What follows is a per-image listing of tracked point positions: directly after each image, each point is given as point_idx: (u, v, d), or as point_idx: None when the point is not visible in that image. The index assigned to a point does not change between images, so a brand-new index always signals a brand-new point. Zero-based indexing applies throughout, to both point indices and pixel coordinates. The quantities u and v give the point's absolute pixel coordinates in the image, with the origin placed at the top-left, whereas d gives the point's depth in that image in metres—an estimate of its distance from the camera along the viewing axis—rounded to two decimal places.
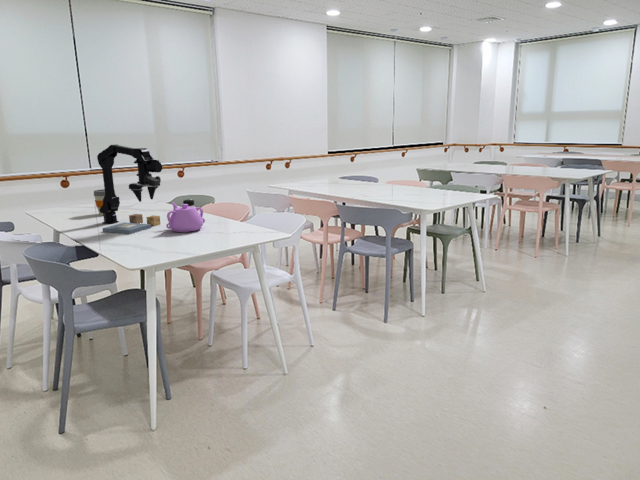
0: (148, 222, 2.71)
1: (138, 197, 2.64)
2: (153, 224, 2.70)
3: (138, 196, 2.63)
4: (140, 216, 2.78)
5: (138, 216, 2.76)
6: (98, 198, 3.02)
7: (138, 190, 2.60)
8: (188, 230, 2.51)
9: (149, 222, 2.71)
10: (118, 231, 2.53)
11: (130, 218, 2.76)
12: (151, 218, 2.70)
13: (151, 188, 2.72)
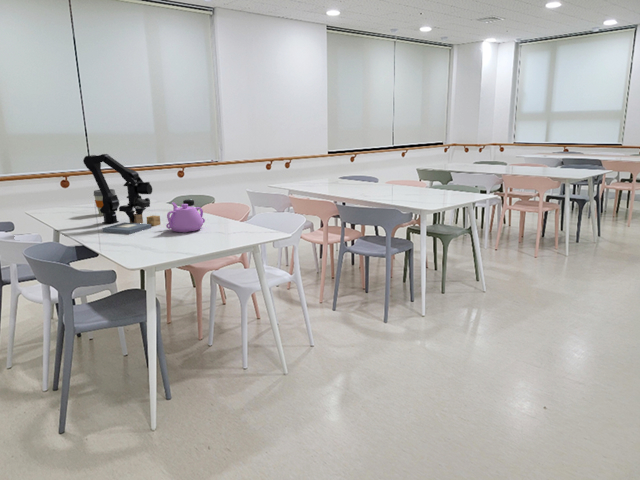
0: (148, 222, 2.71)
1: (131, 218, 2.75)
2: (153, 224, 2.70)
3: (131, 217, 2.74)
4: (140, 216, 2.78)
5: (138, 216, 2.76)
6: (98, 198, 3.02)
7: (131, 211, 2.71)
8: (188, 230, 2.51)
9: (149, 222, 2.71)
10: (118, 231, 2.53)
11: None
12: (151, 218, 2.70)
13: (139, 210, 2.80)
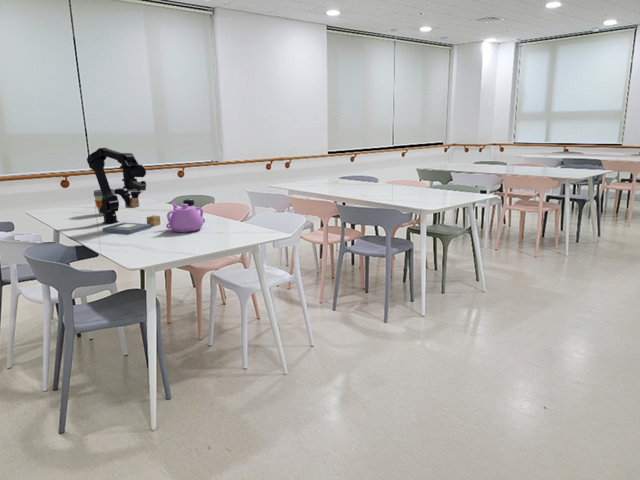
0: (148, 222, 2.71)
1: (126, 201, 2.67)
2: (153, 224, 2.70)
3: (126, 200, 2.66)
4: (136, 199, 2.70)
5: (134, 199, 2.68)
6: (98, 198, 3.02)
7: (126, 194, 2.63)
8: (188, 230, 2.51)
9: (149, 222, 2.71)
10: (118, 231, 2.53)
11: None
12: (151, 218, 2.70)
13: (134, 193, 2.72)
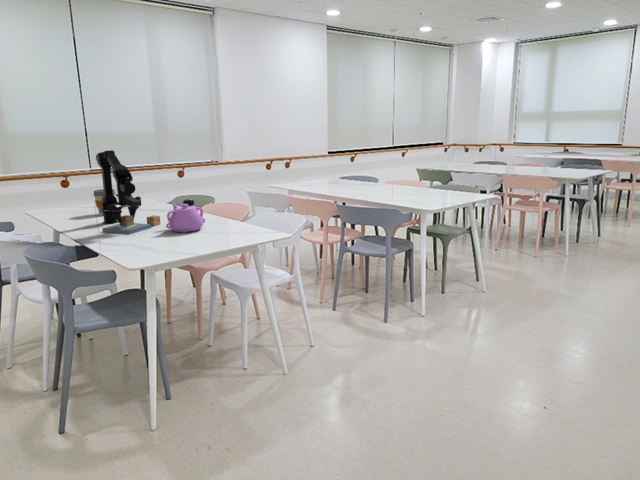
0: (148, 222, 2.71)
1: (118, 218, 2.55)
2: (153, 224, 2.70)
3: (118, 217, 2.55)
4: (131, 218, 2.60)
5: (129, 218, 2.58)
6: (98, 198, 3.02)
7: (117, 211, 2.51)
8: (188, 230, 2.51)
9: (149, 222, 2.71)
10: (118, 231, 2.53)
11: None
12: (151, 218, 2.70)
13: (132, 208, 2.64)
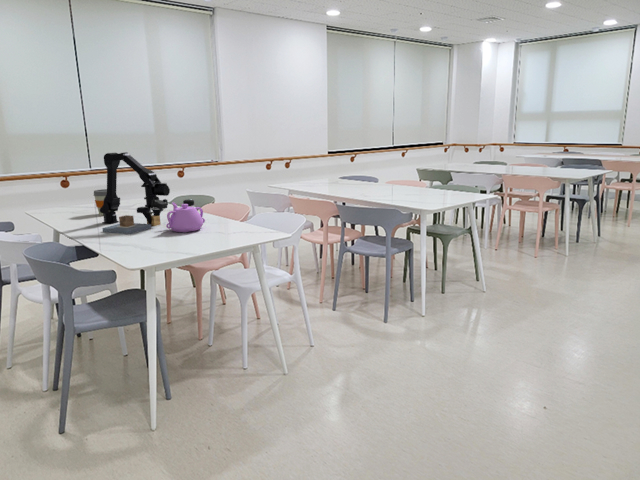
0: (148, 222, 2.71)
1: (148, 220, 2.69)
2: (153, 224, 2.70)
3: (148, 219, 2.69)
4: (131, 218, 2.60)
5: (129, 218, 2.58)
6: (98, 198, 3.02)
7: (148, 213, 2.65)
8: (188, 230, 2.51)
9: None
10: (118, 231, 2.53)
11: (120, 220, 2.58)
12: None
13: (156, 211, 2.74)
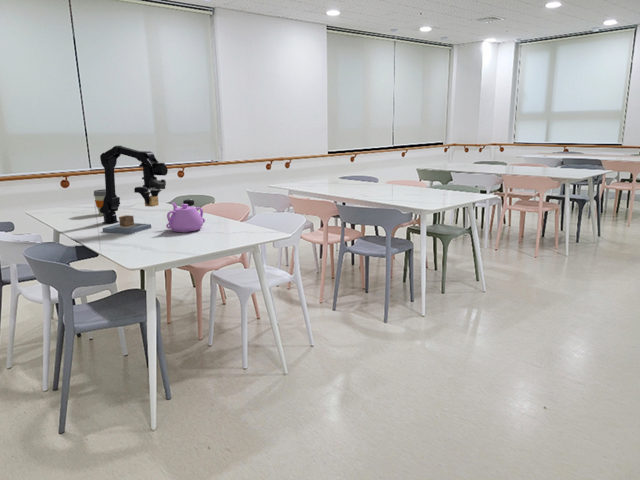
0: None
1: (146, 200, 2.67)
2: (151, 204, 2.67)
3: (146, 199, 2.66)
4: (131, 218, 2.60)
5: (129, 218, 2.58)
6: (98, 198, 3.02)
7: (146, 193, 2.62)
8: (188, 230, 2.51)
9: None
10: (118, 231, 2.53)
11: (120, 220, 2.58)
12: (149, 198, 2.67)
13: (154, 192, 2.72)
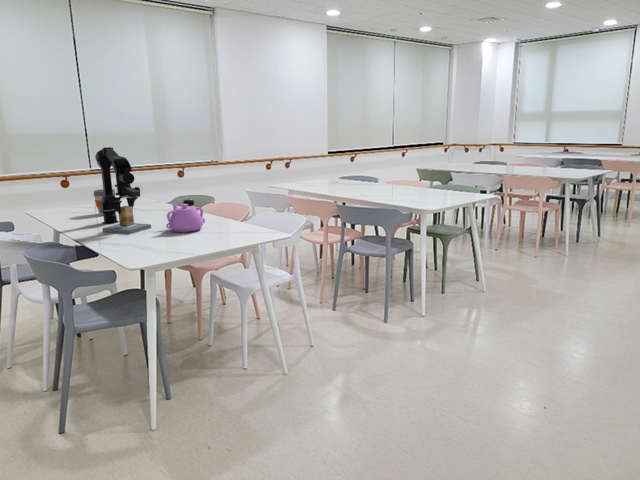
0: None
1: (117, 209, 2.54)
2: (125, 215, 2.57)
3: (117, 208, 2.54)
4: (131, 218, 2.60)
5: (129, 218, 2.58)
6: (98, 198, 3.02)
7: (117, 202, 2.50)
8: (188, 230, 2.51)
9: (121, 213, 2.57)
10: (118, 231, 2.53)
11: (120, 220, 2.58)
12: (123, 209, 2.56)
13: (130, 199, 2.62)
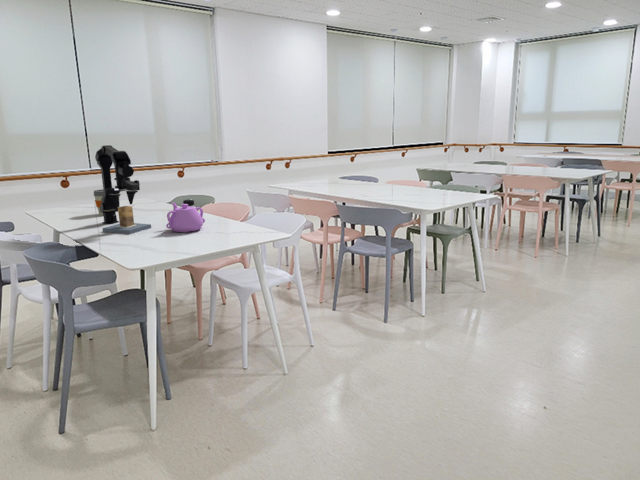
0: (120, 213, 2.58)
1: (116, 202, 2.53)
2: (125, 215, 2.57)
3: (116, 201, 2.53)
4: (131, 218, 2.60)
5: (129, 218, 2.58)
6: (98, 198, 3.02)
7: (115, 195, 2.49)
8: (188, 230, 2.51)
9: (121, 213, 2.57)
10: (118, 231, 2.53)
11: (120, 220, 2.58)
12: (123, 209, 2.56)
13: (130, 193, 2.62)
